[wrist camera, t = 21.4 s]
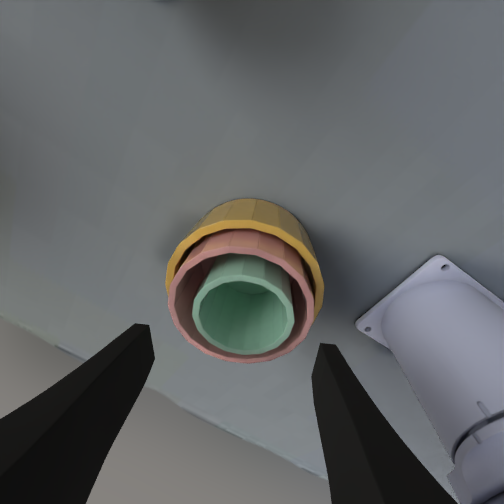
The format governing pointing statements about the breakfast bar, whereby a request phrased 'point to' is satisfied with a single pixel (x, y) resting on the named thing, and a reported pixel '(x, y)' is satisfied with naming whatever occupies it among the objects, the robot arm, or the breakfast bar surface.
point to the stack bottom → (258, 218)
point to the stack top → (240, 243)
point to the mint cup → (244, 304)
